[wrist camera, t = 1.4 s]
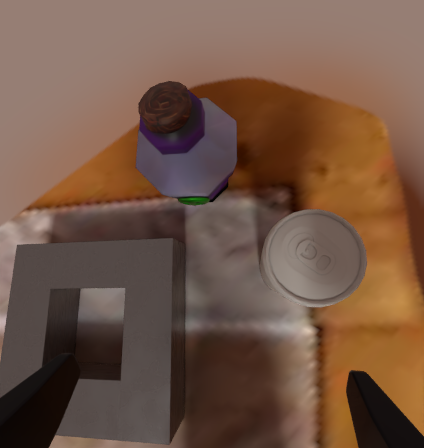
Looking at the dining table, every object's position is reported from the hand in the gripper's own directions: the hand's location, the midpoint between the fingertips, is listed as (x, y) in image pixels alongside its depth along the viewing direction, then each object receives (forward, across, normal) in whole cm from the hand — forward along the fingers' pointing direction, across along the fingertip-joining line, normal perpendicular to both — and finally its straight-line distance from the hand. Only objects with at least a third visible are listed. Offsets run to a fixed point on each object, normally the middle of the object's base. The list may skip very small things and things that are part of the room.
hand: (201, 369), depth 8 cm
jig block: (+12, +12, +11) cm, 20 cm away
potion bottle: (+21, +3, -1) cm, 21 cm away
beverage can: (+15, -4, +6) cm, 17 cm away
